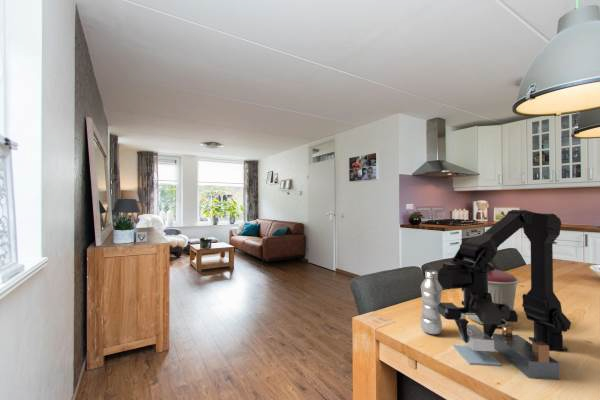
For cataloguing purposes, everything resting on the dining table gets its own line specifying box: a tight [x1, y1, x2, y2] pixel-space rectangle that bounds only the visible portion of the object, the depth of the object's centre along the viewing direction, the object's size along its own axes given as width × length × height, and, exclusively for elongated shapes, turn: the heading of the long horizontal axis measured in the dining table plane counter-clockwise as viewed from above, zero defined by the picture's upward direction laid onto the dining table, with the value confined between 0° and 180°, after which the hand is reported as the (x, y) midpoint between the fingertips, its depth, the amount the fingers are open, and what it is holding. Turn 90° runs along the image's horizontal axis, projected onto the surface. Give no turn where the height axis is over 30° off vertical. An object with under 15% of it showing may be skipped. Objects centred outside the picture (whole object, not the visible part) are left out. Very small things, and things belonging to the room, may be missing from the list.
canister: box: [461, 262, 520, 328], centre depth 98 cm, size 18×18×21 cm
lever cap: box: [459, 324, 495, 352], centre depth 76 cm, size 7×5×4 cm
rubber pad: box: [452, 344, 502, 367], centre depth 76 cm, size 9×8×1 cm
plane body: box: [492, 325, 560, 380], centre depth 73 cm, size 14×7×8 cm, turn 175°
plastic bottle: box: [420, 269, 443, 335], centre depth 89 cm, size 6×7×20 cm
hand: (475, 342), depth 76 cm, fingers closed on lever cap, 5 cm apart
